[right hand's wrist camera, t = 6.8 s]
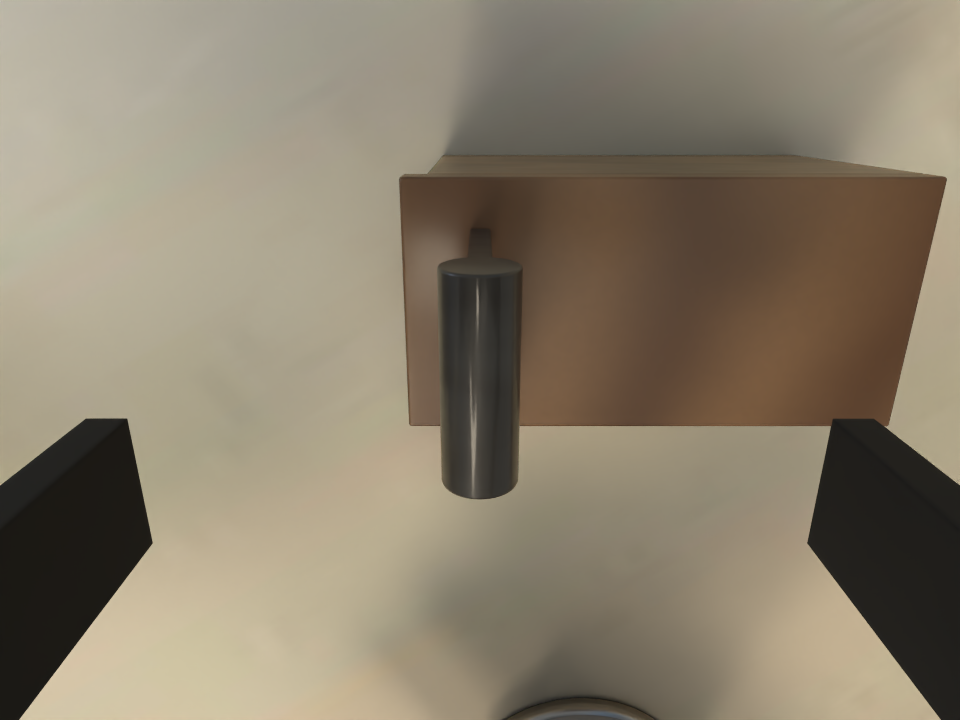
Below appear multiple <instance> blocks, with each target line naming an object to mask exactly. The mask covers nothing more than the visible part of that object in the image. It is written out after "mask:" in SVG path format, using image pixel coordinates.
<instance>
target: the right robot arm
mask: <svg viewBox="0 0 960 720" xmlns="http://www.w3.org/2000/svg"><path fill="white" fill-rule="evenodd" d="M152 543H153V542H152V538H151V533H150V528H149V523H148V518H147V513H146V508H145V503H144V498H143V494H142V489H141V484H140V479H139V474H138V469H137V464H136V459H135V454H134V450H133V445H132V440H131V435H130V430H129V425H128V420H127V419H85V420H84V421H82V422H81V423H80V424H79V425H77V426H76V427H75V428H73V429H72V430H71V431H70V432H68V433H67V434H66V435H64V436H63V437H62V438H61V439H59V440H58V441H57V442H55V443H54V444H53V445H52V446H50V447H49V448H48V449H46V450H45V451H44V452H43V453H41V454H40V455H39V456H38V457H36V458H35V459H34V460H32V461H31V462H30V463H29V464H27V465H26V466H25V467H23V468H22V469H21V470H20V471H18V472H17V473H16V474H14V475H13V476H12V477H11V478H9V479H8V480H7V481H6V482H4V483H3V484H2V485H0V720H19V719H20V718H21V716H22V715H23V714H24V712H25V711H26V710H27V709H28V707H29V706H30V705H31V703H32V702H33V701H34V699H35V698H36V697H37V695H38V694H39V693H40V691H41V690H42V689H43V687H44V686H45V685H46V683H47V682H48V681H49V679H50V678H51V677H52V676H53V674H54V673H55V672H56V670H57V669H58V668H59V666H60V665H61V664H62V662H63V661H64V660H65V658H66V657H67V656H68V654H69V653H70V652H71V650H72V649H73V648H74V646H75V645H76V644H77V642H78V641H79V640H80V639H81V637H82V636H83V635H84V633H85V632H86V631H87V629H88V628H89V627H90V625H91V624H92V623H93V621H94V620H95V619H96V617H97V616H98V615H99V613H100V612H101V611H102V609H103V608H104V607H105V606H106V604H107V603H108V602H109V600H110V599H111V598H112V596H113V595H114V594H115V592H116V591H117V590H118V588H119V587H120V586H121V584H122V583H123V582H124V580H125V579H126V578H127V576H128V575H129V574H130V572H131V571H132V570H133V569H134V567H135V566H136V565H137V563H138V562H139V561H140V559H141V558H142V557H143V555H144V554H145V553H146V551H147V550H148V549H149V547H150V546H151V545H152ZM807 543H808V545H809V546H810V547H811V549H812V550H813V551H814V553H815V554H816V555H817V557H818V558H819V559H820V561H821V562H822V563H823V565H824V566H825V567H826V569H827V570H828V571H829V572H830V574H831V575H832V576H833V578H834V579H835V580H836V582H837V583H838V584H839V586H840V587H841V588H842V590H843V591H844V592H845V594H846V595H847V596H848V598H849V599H850V600H851V602H852V603H853V604H854V606H855V607H856V608H857V609H858V611H859V612H860V613H861V615H862V616H863V617H864V619H865V620H866V621H867V623H868V624H869V625H870V627H871V628H872V629H873V631H874V632H875V633H876V635H877V636H878V637H879V639H880V640H881V641H882V642H883V644H884V645H885V646H886V648H887V649H888V650H889V652H890V653H891V654H892V656H893V657H894V658H895V660H896V661H897V662H898V664H899V665H900V666H901V668H902V669H903V670H904V672H905V673H906V674H907V676H908V677H909V678H910V679H911V681H912V682H913V683H914V685H915V686H916V687H917V689H918V690H919V691H920V693H921V694H922V695H923V697H924V698H925V699H926V701H927V702H928V703H929V705H930V706H931V707H932V709H933V710H934V711H935V712H936V714H937V715H938V716H939V718H940V719H941V720H960V485H958V484H957V483H956V482H954V481H953V480H952V479H951V478H949V477H948V476H947V475H946V474H944V473H943V472H942V471H940V470H939V469H938V468H937V467H935V466H934V465H933V464H931V463H930V462H929V461H928V460H926V459H925V458H924V457H922V456H921V455H920V454H919V453H917V452H916V451H915V450H914V449H912V448H911V447H910V446H908V445H907V444H906V443H905V442H903V441H902V440H901V439H899V438H898V437H897V436H896V435H894V434H893V433H892V432H890V431H889V430H888V429H887V428H885V427H884V426H883V425H881V424H880V423H879V422H878V421H876V420H875V419H833V420H832V425H831V430H830V435H829V440H828V445H827V450H826V454H825V459H824V464H823V469H822V474H821V479H820V484H819V489H818V494H817V498H816V503H815V508H814V513H813V518H812V523H811V528H810V533H809V538H808V542H807Z"/></svg>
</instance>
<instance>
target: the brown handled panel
mask: <svg viewBox="0 0 960 720" xmlns="http://www.w3.org/2000/svg"><path fill="white" fill-rule="evenodd" d="M946 181H947V178H946V177H943V176H936V175H929V174H404V175H402V176H401V177H400V179H399V187H400V212H401V236H402V260H403V284H404V309H405V333H406V357H407V381H408V406H409V424H410V425H411V426H441V467H442V482H443V484H444V486H445V487H446V488H447V489H448V490H449V491H450V492H452V493H453V494H456V495H458V496H461V497H465V498H470V499H490V498H495V497H499V496H502V495H504V494H506V493H508V492H510V491H511V490H512V489H513V488H514V487H515V486H516V484H517V482H518V462H519V426H831V425H832V420H833V419H875V420H876V421H878V422H879V423H880V424H881V425H883V426H888V425H889V421H890V416H891V412H892V408H893V404H894V400H895V395H896V391H897V387H898V383H899V379H900V374H901V370H902V366H903V362H904V358H905V353H906V349H907V345H908V341H909V337H910V332H911V328H912V324H913V320H914V315H915V311H916V307H917V303H918V299H919V294H920V290H921V286H922V282H923V278H924V273H925V269H926V265H927V261H928V257H929V252H930V248H931V244H932V240H933V236H934V231H935V227H936V223H937V219H938V215H939V210H940V206H941V202H942V198H943V193H944V189H945V185H946Z"/></svg>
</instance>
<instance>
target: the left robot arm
mask: <svg viewBox="0 0 960 720" xmlns="http://www.w3.org/2000/svg"><path fill="white" fill-rule="evenodd" d="M507 720H654V719H653V718H652V717H650V716H648V715H647V714H645V713H643V712H641V711H639V710H637V709H635V708H632V707H630V706H627V705H624V704H620V703H617V702H613V701H607V700H601V699H591V698H573V699H563V700H556V701H551V702H547V703H543V704H539V705H536V706H533V707H530V708H528V709H525V710H523V711H521V712H519V713H517V714H515V715H513V716H511V717H510V718H508V719H507Z"/></svg>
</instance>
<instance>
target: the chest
mask: <svg viewBox="0 0 960 720" xmlns="http://www.w3.org/2000/svg"><path fill="white" fill-rule="evenodd" d="M428 174H922V173H915V172H908V171H901V170H894V169H887V168H880V167H873V166H866V165H859V164H852V163H844V162H837V161H830V160H823V159H816V158H809V157H802V156H796V155H443V156H442V158H441V159H440V160H439V161H438V162H437V164H436V165H435V166H434V167H433V168H432V169H431V171H430V172H429V173H428Z"/></svg>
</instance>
